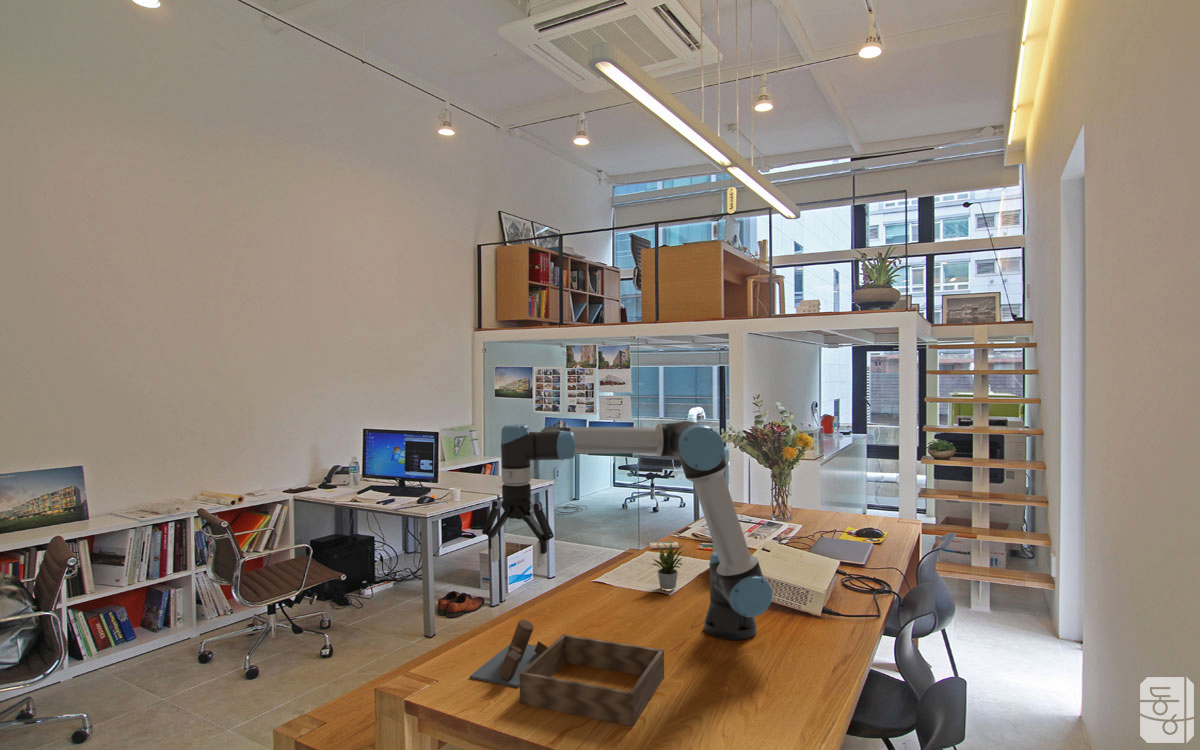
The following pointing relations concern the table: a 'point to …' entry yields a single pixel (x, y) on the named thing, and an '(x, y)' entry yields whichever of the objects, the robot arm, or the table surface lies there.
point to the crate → (587, 697)
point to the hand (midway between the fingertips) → (517, 563)
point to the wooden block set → (518, 649)
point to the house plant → (668, 567)
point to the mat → (494, 665)
